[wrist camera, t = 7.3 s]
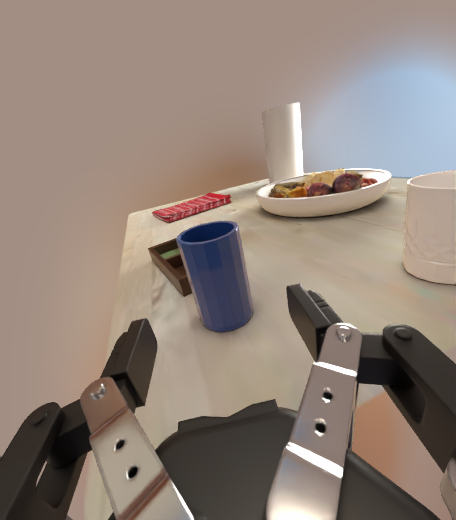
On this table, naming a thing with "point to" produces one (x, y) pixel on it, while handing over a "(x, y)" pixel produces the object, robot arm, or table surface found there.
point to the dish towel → (192, 207)
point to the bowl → (324, 192)
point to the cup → (217, 274)
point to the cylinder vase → (283, 142)
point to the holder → (171, 264)
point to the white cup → (431, 227)
